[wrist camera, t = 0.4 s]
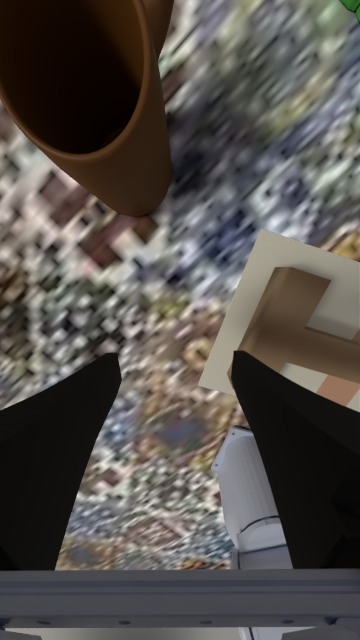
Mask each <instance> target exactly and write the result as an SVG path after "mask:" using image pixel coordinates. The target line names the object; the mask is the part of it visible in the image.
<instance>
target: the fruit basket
mask: <svg viewBox="0 0 360 640" xmlns="http://www.w3.org/2000/svg"><path fill="white" fill-rule="evenodd" d="M340 1H341V2H342V3H343V4H344V5H345V6H346V7H347V8H348V9H349V10H352V11H355V10H356V16H357V19H358V21H359V22H360V0H340Z"/></svg>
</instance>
